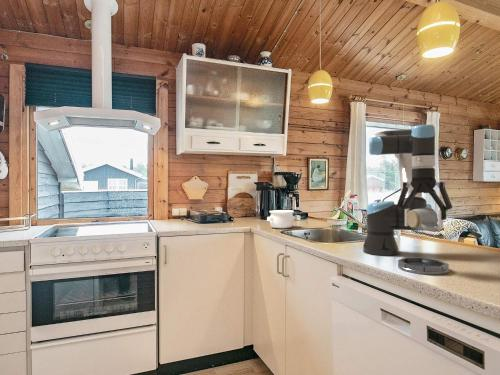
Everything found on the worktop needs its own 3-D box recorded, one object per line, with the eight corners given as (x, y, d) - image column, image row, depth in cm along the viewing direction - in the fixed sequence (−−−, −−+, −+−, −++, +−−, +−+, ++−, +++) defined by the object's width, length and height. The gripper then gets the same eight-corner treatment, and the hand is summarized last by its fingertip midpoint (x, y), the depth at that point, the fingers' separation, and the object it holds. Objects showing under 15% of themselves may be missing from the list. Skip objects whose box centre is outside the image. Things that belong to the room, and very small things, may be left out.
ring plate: (390, 268, 121) (390, 262, 121) (408, 261, 132) (408, 255, 132) (439, 278, 108) (439, 270, 108) (454, 268, 120) (454, 261, 120)
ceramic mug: (404, 227, 123) (404, 207, 123) (422, 226, 125) (423, 206, 124) (425, 232, 113) (425, 210, 112) (445, 231, 115) (445, 209, 114)
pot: (273, 230, 223) (272, 212, 223) (262, 227, 239) (262, 210, 239) (301, 228, 231) (300, 211, 231) (289, 225, 247) (289, 209, 247)
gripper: (387, 168, 125) (387, 225, 126) (456, 166, 108) (456, 232, 109) (395, 168, 130) (395, 223, 131) (463, 166, 113) (462, 229, 114)
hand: (423, 227), depth 120 cm, fingers closed on ceramic mug, 11 cm apart
